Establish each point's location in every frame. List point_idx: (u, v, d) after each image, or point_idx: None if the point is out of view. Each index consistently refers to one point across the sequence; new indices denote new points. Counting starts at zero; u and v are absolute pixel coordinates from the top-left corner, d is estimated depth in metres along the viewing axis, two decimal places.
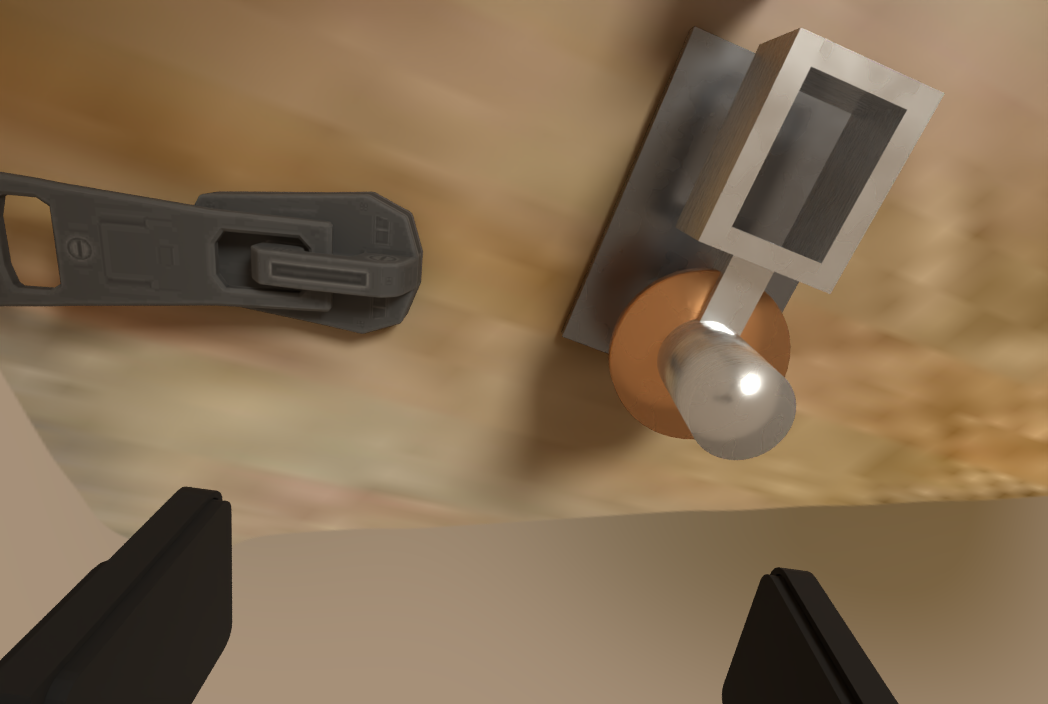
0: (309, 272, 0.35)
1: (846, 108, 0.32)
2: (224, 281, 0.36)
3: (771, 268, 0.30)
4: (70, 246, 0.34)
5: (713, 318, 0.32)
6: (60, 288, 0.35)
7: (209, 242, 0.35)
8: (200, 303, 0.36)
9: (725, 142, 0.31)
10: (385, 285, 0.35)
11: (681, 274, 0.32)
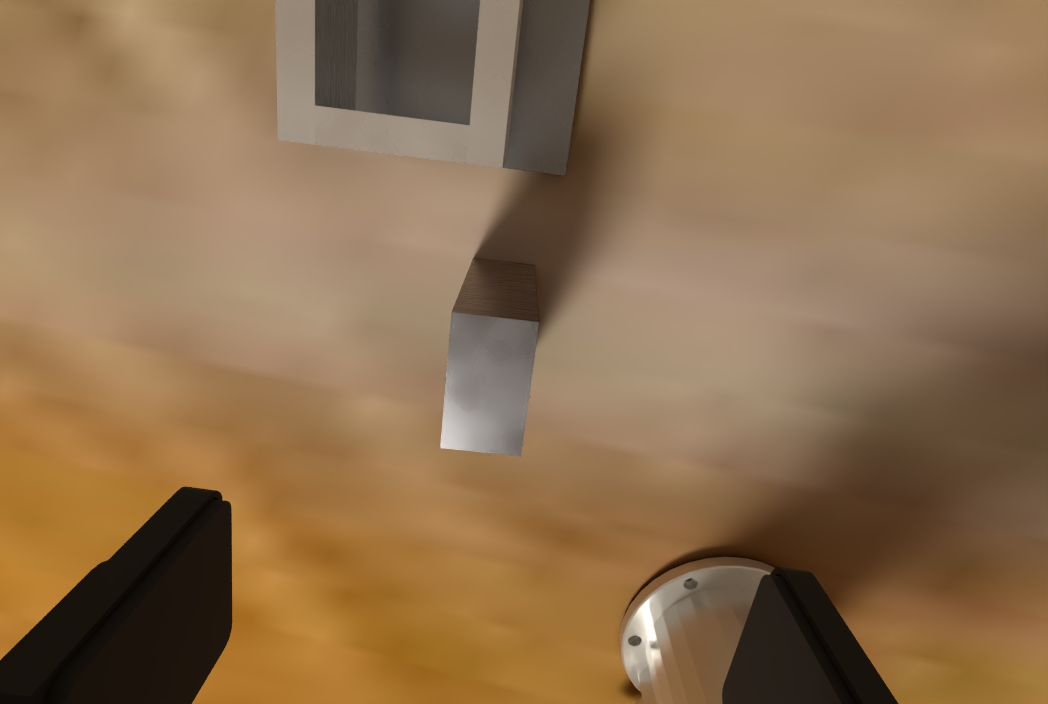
0: None
1: None
2: None
3: None
4: None
5: None
6: None
7: None
8: None
9: None
10: None
11: None
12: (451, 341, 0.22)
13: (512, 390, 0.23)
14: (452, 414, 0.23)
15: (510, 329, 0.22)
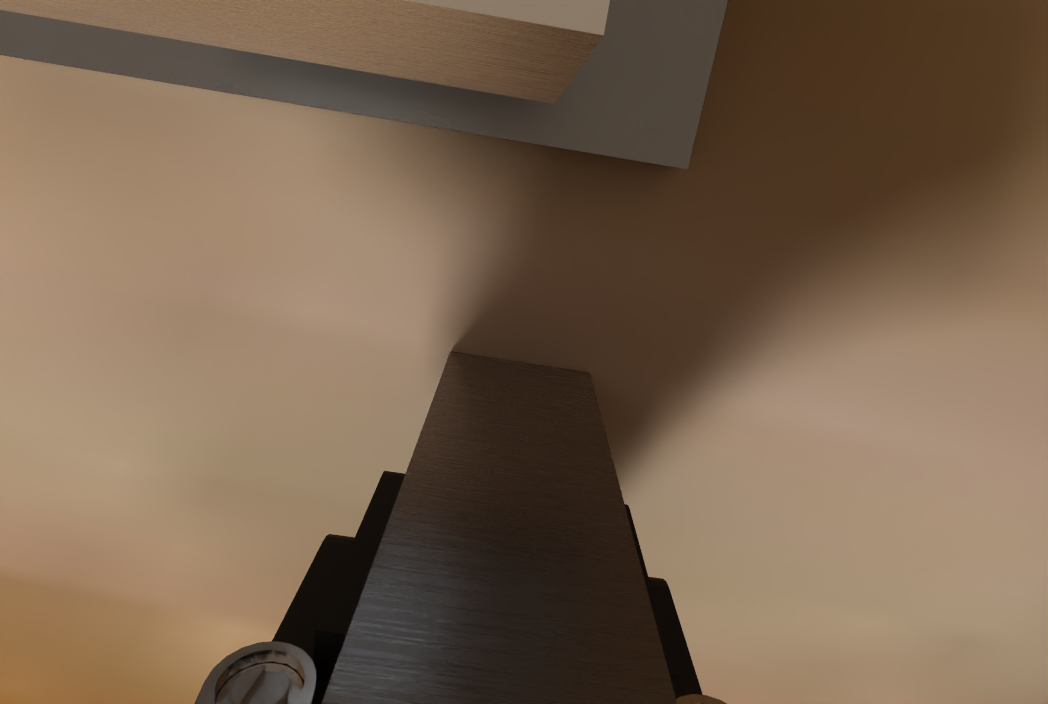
0: None
1: None
2: None
3: None
4: None
5: None
6: None
7: None
8: None
9: None
10: None
11: None
12: None
13: None
14: None
15: None
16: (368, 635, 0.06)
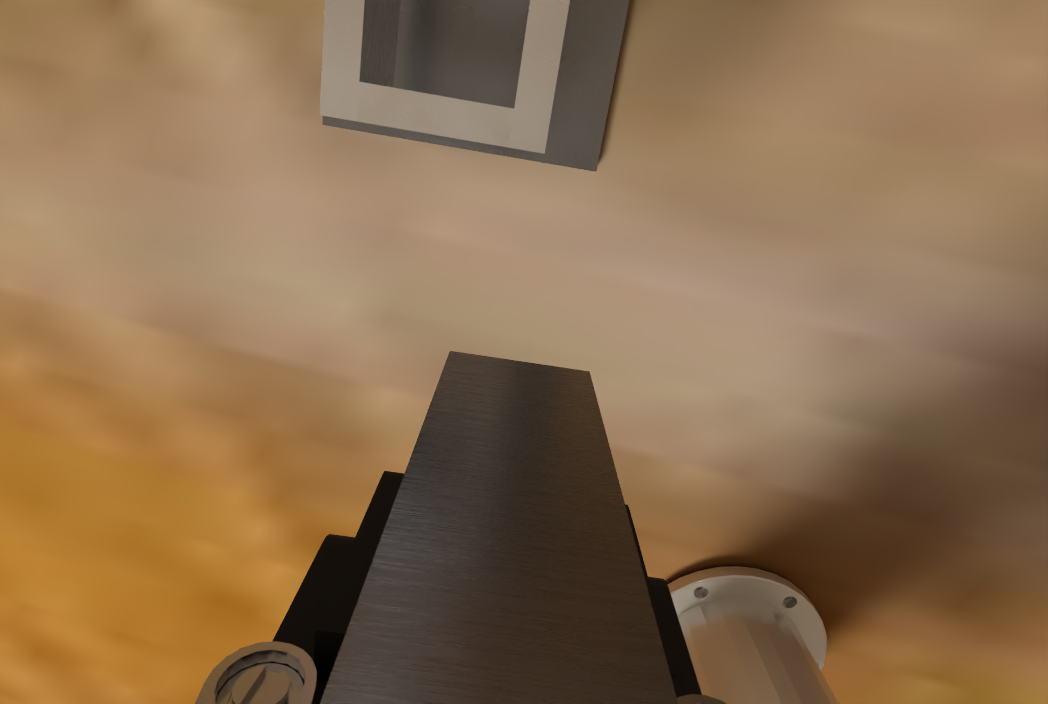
0: None
1: None
2: None
3: None
4: None
5: None
6: None
7: None
8: None
9: None
10: None
11: None
12: None
13: None
14: None
15: None
16: (367, 634, 0.06)
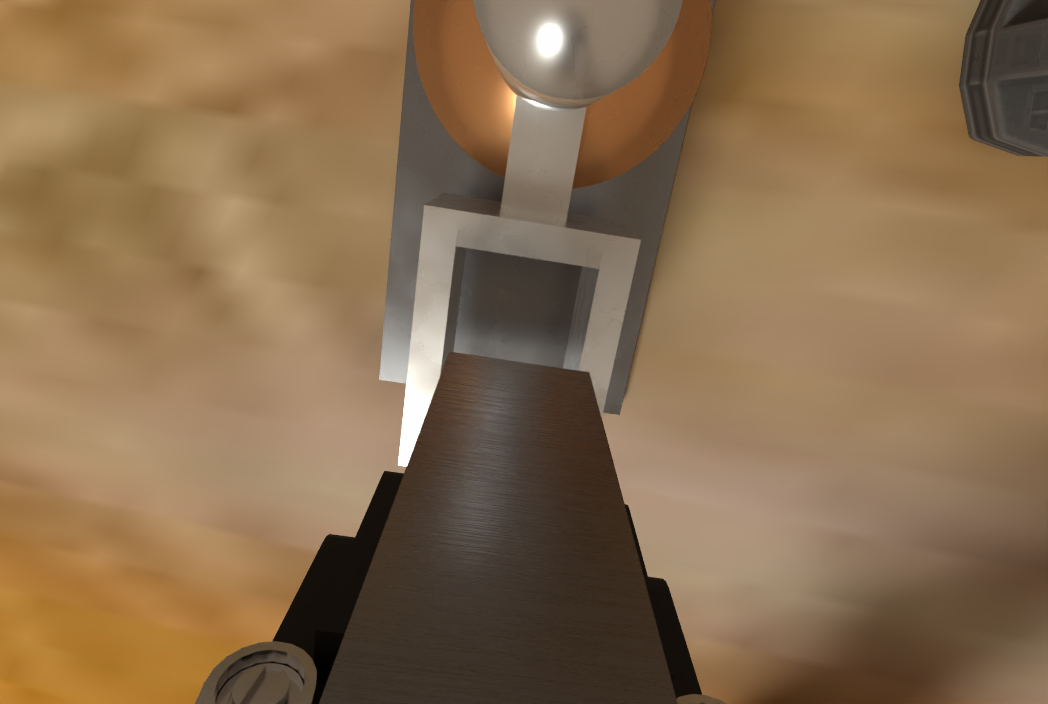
0: None
1: None
2: None
3: (524, 223, 0.20)
4: None
5: (567, 117, 0.21)
6: None
7: None
8: None
9: None
10: None
11: (625, 171, 0.22)
12: None
13: None
14: None
15: None
16: (365, 637, 0.06)
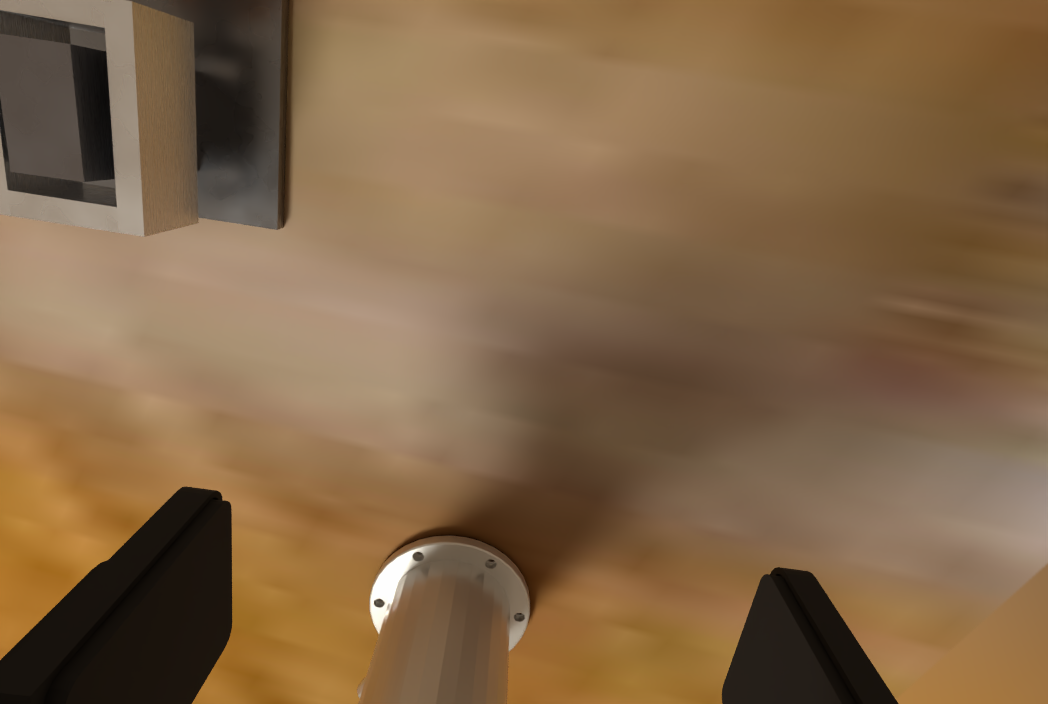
0: None
1: (87, 185, 0.32)
2: None
3: None
4: None
5: None
6: None
7: None
8: None
9: (174, 125, 0.30)
10: None
11: None
12: None
13: (61, 113, 0.26)
14: (14, 137, 0.26)
15: (45, 50, 0.25)
16: None
